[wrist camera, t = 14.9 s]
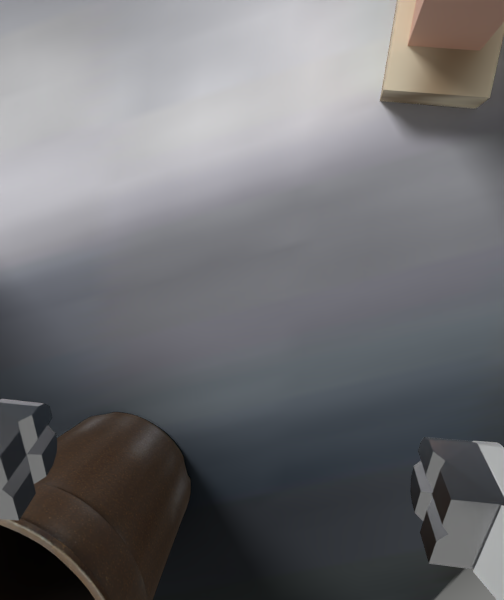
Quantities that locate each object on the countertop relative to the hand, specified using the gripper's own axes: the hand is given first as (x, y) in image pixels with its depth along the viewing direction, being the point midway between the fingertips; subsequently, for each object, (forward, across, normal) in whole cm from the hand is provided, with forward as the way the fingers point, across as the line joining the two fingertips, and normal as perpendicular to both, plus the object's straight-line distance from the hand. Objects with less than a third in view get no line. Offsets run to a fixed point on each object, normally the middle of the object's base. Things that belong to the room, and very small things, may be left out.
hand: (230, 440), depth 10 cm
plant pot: (+20, +11, +25) cm, 34 cm away
